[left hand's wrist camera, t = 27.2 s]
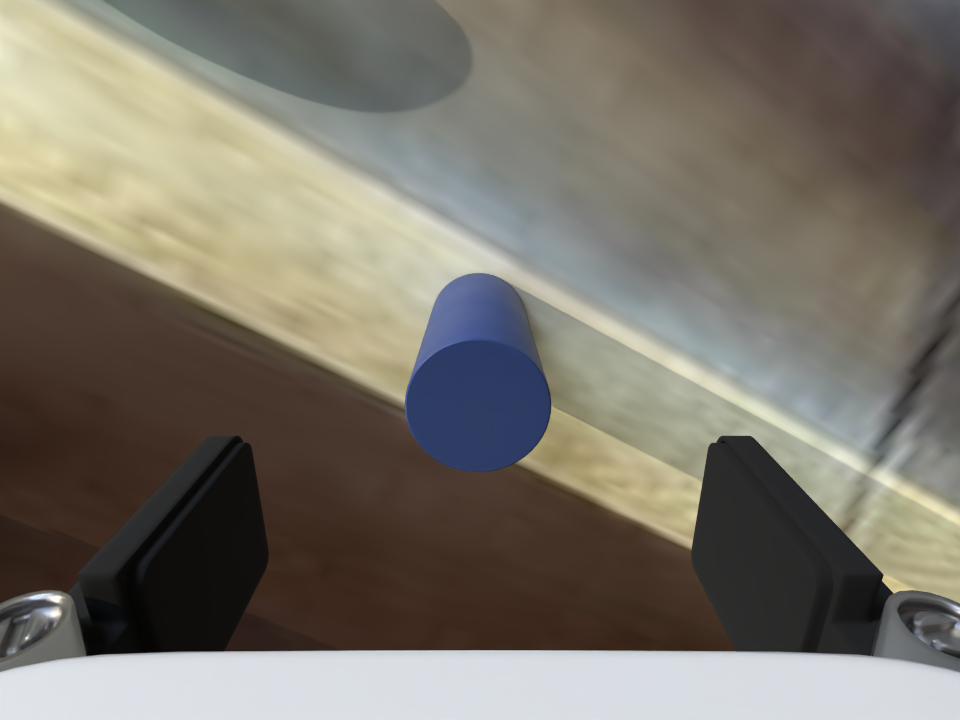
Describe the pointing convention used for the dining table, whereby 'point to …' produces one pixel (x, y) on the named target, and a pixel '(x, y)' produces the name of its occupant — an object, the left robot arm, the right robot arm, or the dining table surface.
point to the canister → (478, 378)
